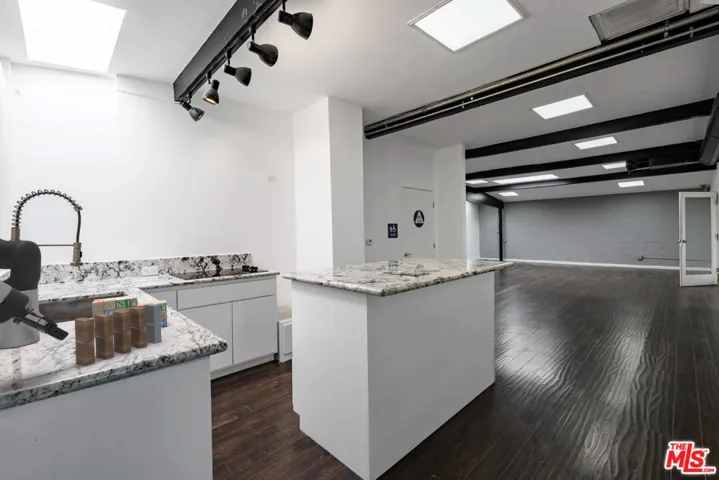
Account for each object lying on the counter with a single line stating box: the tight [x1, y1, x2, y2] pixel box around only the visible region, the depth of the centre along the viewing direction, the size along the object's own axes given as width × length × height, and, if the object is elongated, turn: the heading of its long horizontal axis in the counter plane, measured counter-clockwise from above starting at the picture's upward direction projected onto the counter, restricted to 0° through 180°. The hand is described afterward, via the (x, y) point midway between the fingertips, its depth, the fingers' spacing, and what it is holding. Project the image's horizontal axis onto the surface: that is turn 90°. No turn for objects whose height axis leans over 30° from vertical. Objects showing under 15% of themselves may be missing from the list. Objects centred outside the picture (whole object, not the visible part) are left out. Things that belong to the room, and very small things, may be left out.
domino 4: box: [129, 306, 148, 349], centre depth 96 cm, size 2×5×12 cm, turn 65°
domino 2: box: [94, 313, 115, 360], centre depth 88 cm, size 2×5×12 cm, turn 65°
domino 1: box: [74, 316, 96, 367], centre depth 84 cm, size 2×5×12 cm, turn 65°
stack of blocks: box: [91, 295, 168, 339], centre depth 113 cm, size 21×6×12 cm, turn 124°
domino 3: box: [113, 310, 132, 355], centre depth 92 cm, size 2×5×12 cm, turn 65°
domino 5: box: [144, 303, 162, 344], centre depth 100 cm, size 2×5×12 cm, turn 65°
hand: (64, 336), depth 80 cm, fingers closed
